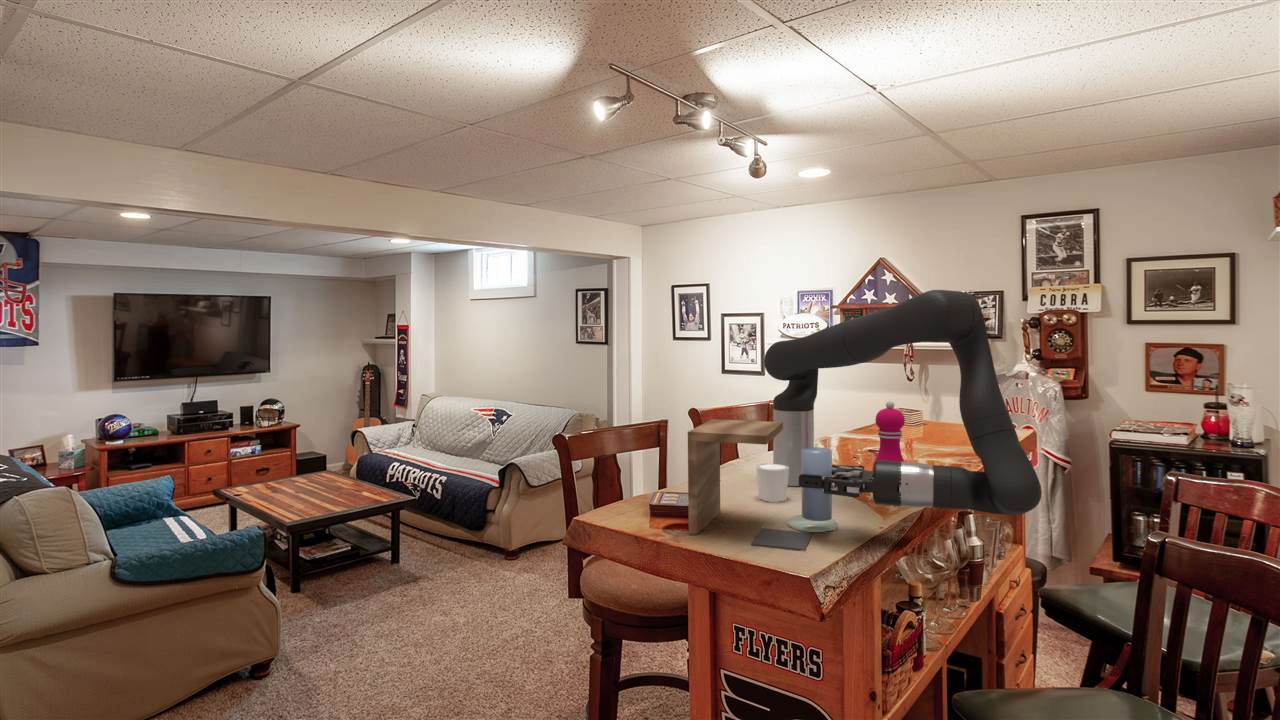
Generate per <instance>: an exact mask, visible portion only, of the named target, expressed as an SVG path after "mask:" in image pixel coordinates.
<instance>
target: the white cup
mask: <svg viewBox="0 0 1280 720" xmlns="http://www.w3.org/2000/svg"><path fill="white" fill-rule="evenodd" d="M755 467H756V479H757V487H758V498H760V499H762V500H764V501H763V502H765V501H769V502H768V503H780V502H779V501H783V502H785V501H786V500H787V493H788V486H787V485H788V474H789V467H788V466H786V465H781V464H773V463H762V464H757V466H755ZM760 499H759V500H760ZM762 500H761V501H762ZM784 500H785V501H784Z"/></svg>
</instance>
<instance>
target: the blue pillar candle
mask: <svg viewBox="0 0 1280 720" xmlns="http://www.w3.org/2000/svg"><path fill="white" fill-rule="evenodd" d="M832 465H833V450H832V449H831V448H828V447H827V448H825V447H816V446H814V447H809V448H803V449H802V474H809V475H821V476H822V475H832ZM831 486H833V483H831ZM801 515H802V517H803V518H804V519H807V520H812V521H827V520H830V519H833V494H825V493H824V491H823V490H821V489H817V488H804V487H801Z"/></svg>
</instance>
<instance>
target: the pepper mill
mask: <svg viewBox="0 0 1280 720" xmlns="http://www.w3.org/2000/svg"><path fill="white" fill-rule="evenodd" d="M885 407H886V408H883V409H880V410H879V411H878V412H877V413H876V416H875V424H876V426H877V428H878V430H877V433H878V434H877V437H879V449H878V453H877V455H876V457H875V459H874V462H875V461H876V460H882V461H899V462H905V460H904V457H903V455H902V451H901V443H900V442H901V438H903V435H902V434H903V431H902V428H903V427H904V426H905V422H906V421H905V415H904V414H903V412H902V411H901V410H899V409H897V408H895V403H894V401H890V400H888V401H886V403H885ZM874 462H873V465H872V472H873V469H874Z"/></svg>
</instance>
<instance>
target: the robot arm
mask: <svg viewBox="0 0 1280 720" xmlns="http://www.w3.org/2000/svg"><path fill="white" fill-rule="evenodd" d="M987 331H988V330H987V327H986V321H985V317H984V313H983V310H982V308H981V305H980V303H979V302H978V300H977V298H975V296H973V295H972V294H970V293H968V292H965V291H960V290H948V289H946V290H945V289H932V290H927V291H925V292H921V293H919V294H916V296H915V295H914V296H913V297H910V298H909V299H906V300H905V301H903V302H900V303H899V304H896V305H893V306H892V307H890V308H886V309H884V310H879V311H875V312H872V313H867V314H864V315H861V316H857V317H854V318H851V319H848V320H845V321H841V322H839V323H837V324H835V325H831V326H828V327H826V328H824V329H820V330H818V331H816V332H813V333H811V334H808V335H805V336H802V337H798V338H793V339H788V340H781V341H777V342H775V343H773V344H772V345H771V346H769V348H768V349H767V351H766V353H765V355H764V359H763V365H764V368H765V371H766V372H767V373H768V375H769V376H771V377H772V378H773V379H775V380H778V381H786V382H787V381H788V384H787V387H786V388H785V389H784V390H783V391H781V392H780V393H779V394H776V395H775V397H774V398H773V401H772V403H773V407H772V408H773V410H772V411H773V415H772V416H773V419H772V420H773V421H772V422H783V430H782V431H781V432H780V433H779V434H778V435H777V436H775V437H774V438H773V439H772V440H773V442H772V446H773V447H772V448H773V449H772V453H773V454H772V456H773V457H772V459H773V460H772V462H773V463H772V464H781V465H786V466H788V467H789V474H788V485H787V487H800V488H802V487H804V488H817V489H821V490H823V491H824V493H825V494H832V496H833V495H834V496H840V497H841V496H842V497H848V498H849V497H850V498H855V499H857V498H860V495H862V494H864V493H872V495H873V496H872V500H873V502H874V505H875V504H876V505H880V506H881V505H882V506H891V507H892V506H893V507H904V508H906V507H907V508H913V509H918V508H920V509H921V508H936V509H947V510H948V509H949V510H971V511H976V512H980V513H981V512H982V513H988V514H995V515H1003V516H1020V515H1021V516H1022V515H1024V514H1026V513H1028V512H1031V511H1032V510H1034V509H1036V508H1037V506H1038V505H1039V503H1040V501H1041V499H1042V493H1043V492H1042V487H1041V483H1040V479H1039V477H1038V475H1037V472H1036V470H1035V469H1034V466H1033V464H1032V463H1031V461H1030V459H1029V457H1028V455H1027V454H1026V452H1025V450H1024V448H1023V447H1022V445H1021V443H1020V440H1019V436H1018V433H1017V431H1016V429H1015V426H1014V423H1013V421H1012V419H1011V418H1012V417H1011V416H1010V413H1009V410H1008V408H1007V406H1006V403H1005V401H1004V397H1003V394H1002V391H1001V389H1000V386H999V381H998V377H997V373H996V369H995V365H994V359H993V354H992V350H991V345H990V342H989V337H988V332H987ZM917 343H948V344H949V345H950V347H951V349H952V351H953V353H954V355H955V357H956V359H957V361H958V366H959V370H960V387H959V399H958V400H959V401H958V403H959V411H960V412H959V413H960V417H961V421H962V423H963V425H964V429H965V431H966V435H967V437H968V439H969V442H970V445H971V447H972V450H973V451H974V454H975V455H976V457H978V458H979V460H980V462H981V464H982V467H983V470H984V471H981V470H979V471H978V470H969V469H967V468H965V467H961V466H954V465H937V464H936V465H935V464H933V465H932V464H928V463H922V462H915V461H914V462H913V461H904V462H899V461H882V460H876V461H875V460H874V461H875V462H873V464H874V469H873V468H872V470H873V472H872V471H870V470H865V466H864V465H861V464H860V465H846V464H845V465H843V464H841V465H840V464H837V465H836V464H832V475H822V476H821V475H809V474H802V449H803V448H809V447H815V421H814V419H815V410H814V409H815V402H816V399H817V396H818V383H819V369H834V368H842V367H851V366H856V365H860V364H864V363H868V362H871V361H873V360H877V359H879V358H881V357H882V356H884V355H885V354H886V353H887V352H889V351H890V350H891V349H893V348H895V347H899V346H905V345H910V344H917ZM831 483H832V484H833V485H832V486H831Z"/></svg>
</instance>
